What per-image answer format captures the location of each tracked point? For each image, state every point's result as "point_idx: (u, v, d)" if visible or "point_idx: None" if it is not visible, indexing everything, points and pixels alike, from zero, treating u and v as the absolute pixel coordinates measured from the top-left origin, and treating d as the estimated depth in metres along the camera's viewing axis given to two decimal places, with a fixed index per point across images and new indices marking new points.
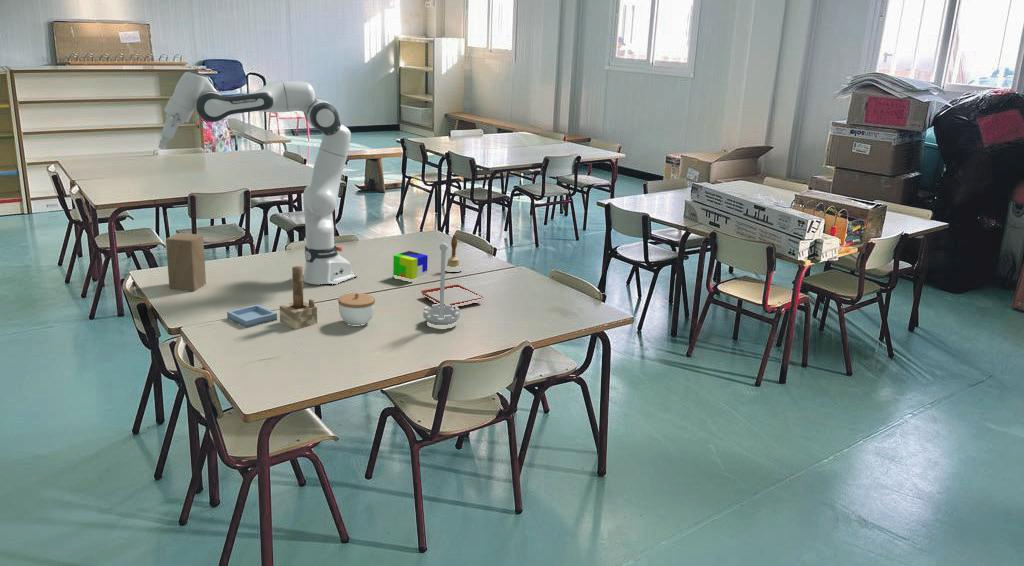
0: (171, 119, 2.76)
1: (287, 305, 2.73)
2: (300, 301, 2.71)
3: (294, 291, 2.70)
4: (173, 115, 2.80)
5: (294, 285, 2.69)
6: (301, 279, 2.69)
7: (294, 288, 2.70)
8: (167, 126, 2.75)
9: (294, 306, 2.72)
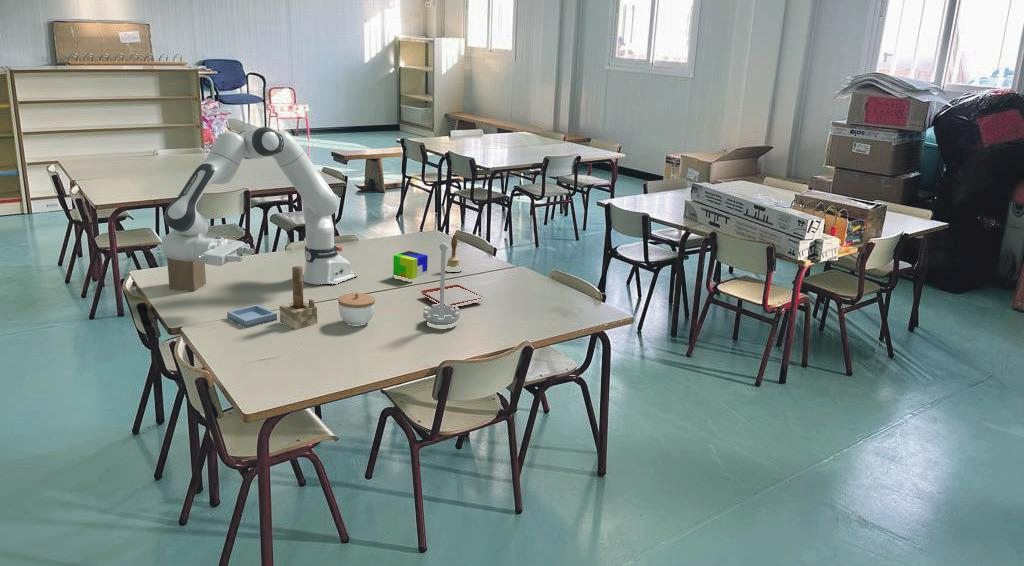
0: (203, 261, 2.65)
1: (287, 305, 2.73)
2: (300, 301, 2.71)
3: (294, 291, 2.70)
4: None
5: (294, 285, 2.69)
6: (301, 279, 2.69)
7: (294, 288, 2.70)
8: (209, 263, 2.64)
9: (294, 306, 2.72)
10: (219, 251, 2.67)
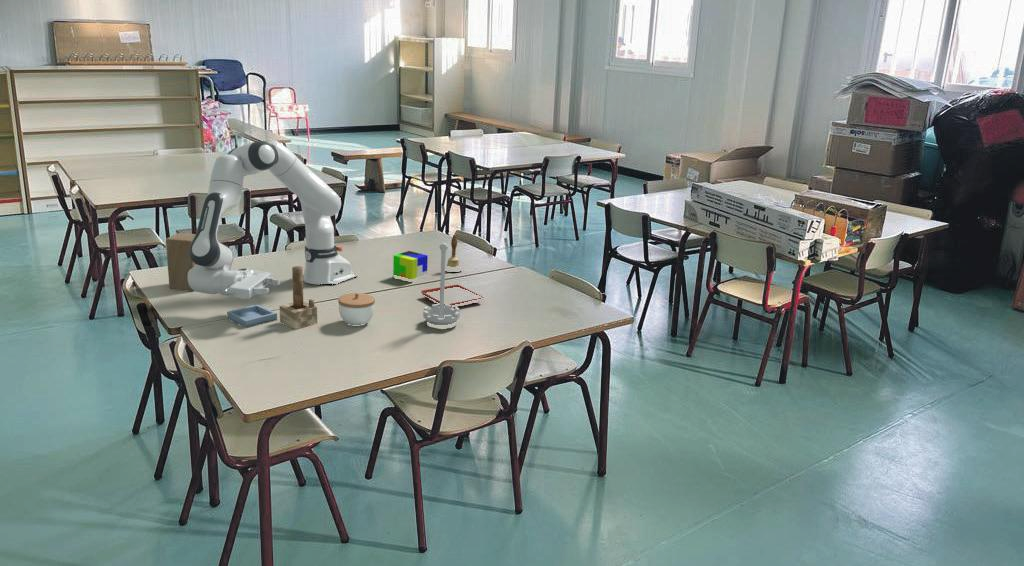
0: (230, 294, 2.65)
1: (287, 305, 2.73)
2: (300, 301, 2.71)
3: (294, 291, 2.70)
4: None
5: (294, 285, 2.69)
6: (301, 279, 2.69)
7: (294, 288, 2.70)
8: (237, 296, 2.64)
9: (294, 306, 2.72)
10: (246, 284, 2.67)
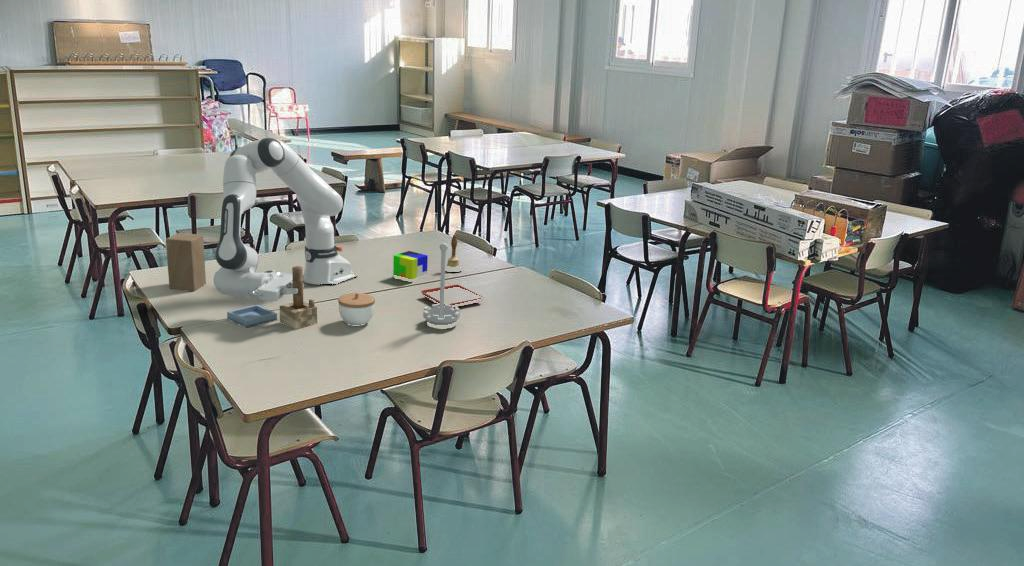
0: (257, 297, 2.64)
1: (287, 305, 2.73)
2: (300, 301, 2.71)
3: None
4: None
5: (294, 285, 2.69)
6: (301, 279, 2.69)
7: None
8: (264, 299, 2.63)
9: (294, 306, 2.72)
10: (273, 286, 2.67)
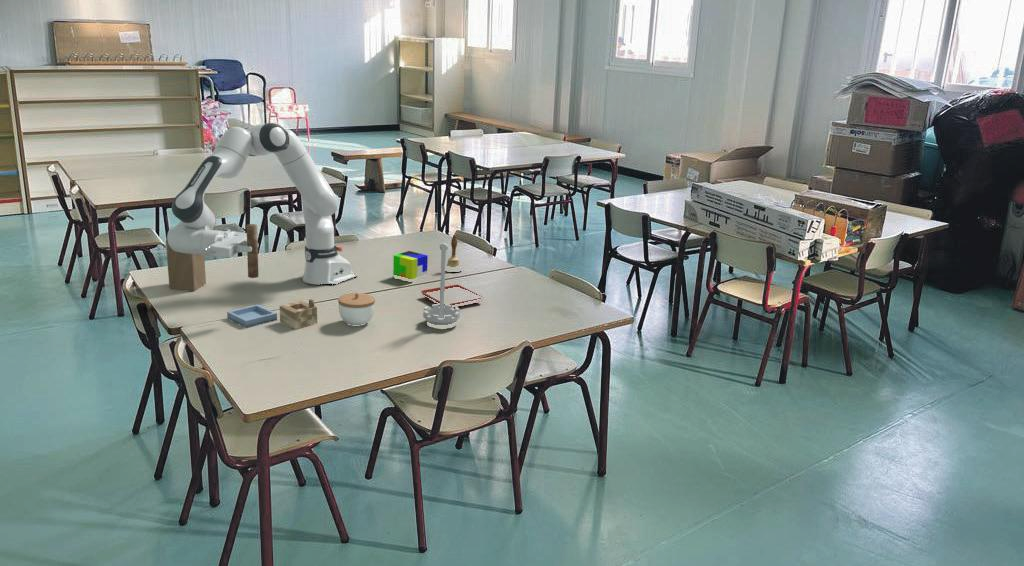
0: (210, 253, 2.60)
1: (287, 305, 2.73)
2: (255, 259, 2.67)
3: None
4: None
5: (248, 243, 2.65)
6: (255, 237, 2.66)
7: None
8: (217, 255, 2.59)
9: (248, 265, 2.68)
10: (226, 243, 2.63)
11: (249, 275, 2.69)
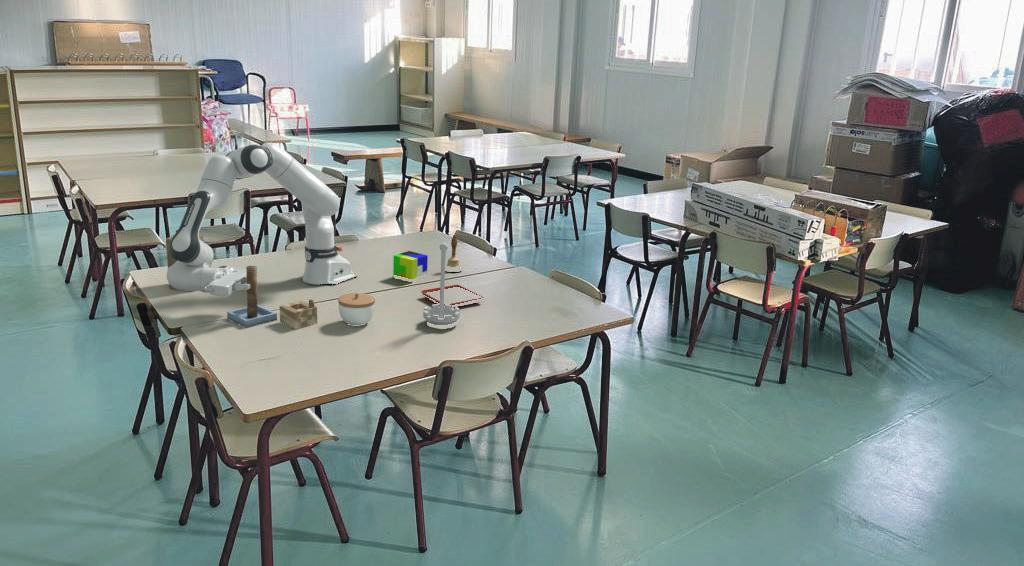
0: (209, 292, 2.64)
1: (287, 305, 2.73)
2: (254, 300, 2.72)
3: (248, 290, 2.71)
4: None
5: None
6: (255, 278, 2.71)
7: None
8: (216, 294, 2.63)
9: (248, 305, 2.73)
10: (225, 281, 2.67)
11: (248, 315, 2.74)
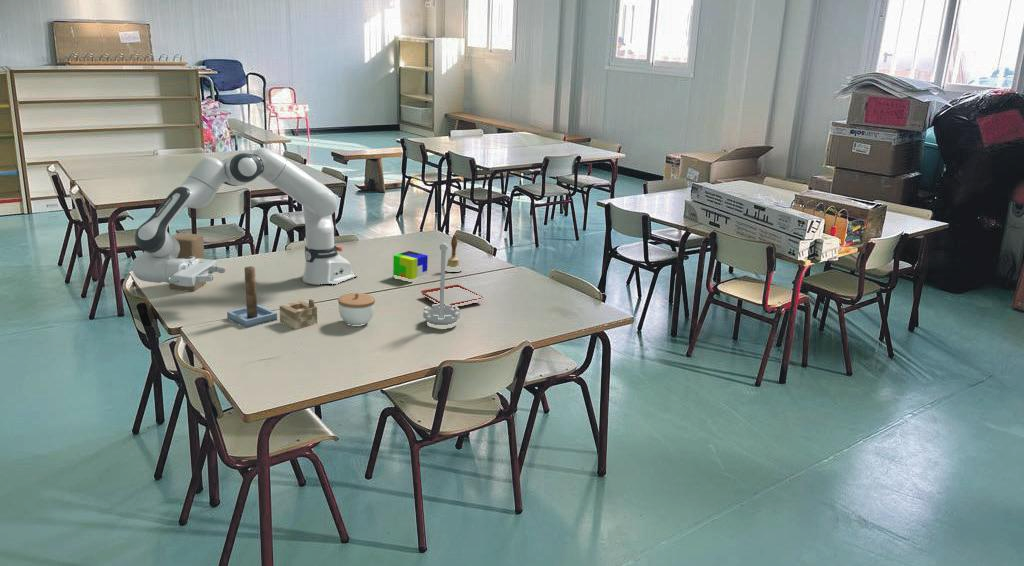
0: (174, 282, 2.66)
1: (287, 305, 2.73)
2: (253, 301, 2.72)
3: (247, 291, 2.71)
4: None
5: (247, 285, 2.70)
6: (253, 279, 2.70)
7: (247, 288, 2.70)
8: (180, 284, 2.65)
9: (247, 306, 2.73)
10: (190, 272, 2.68)
11: (248, 316, 2.74)
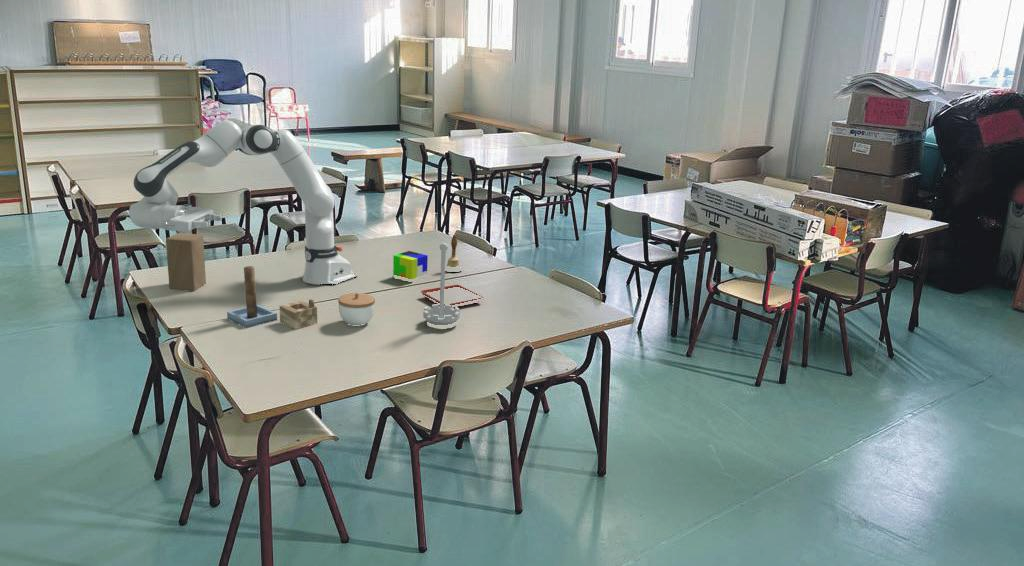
0: (170, 227, 2.67)
1: (287, 305, 2.73)
2: (253, 300, 2.72)
3: (246, 291, 2.71)
4: None
5: (246, 285, 2.70)
6: (253, 279, 2.70)
7: (246, 288, 2.71)
8: (176, 229, 2.66)
9: (247, 306, 2.73)
10: (186, 217, 2.70)
11: (248, 316, 2.74)
